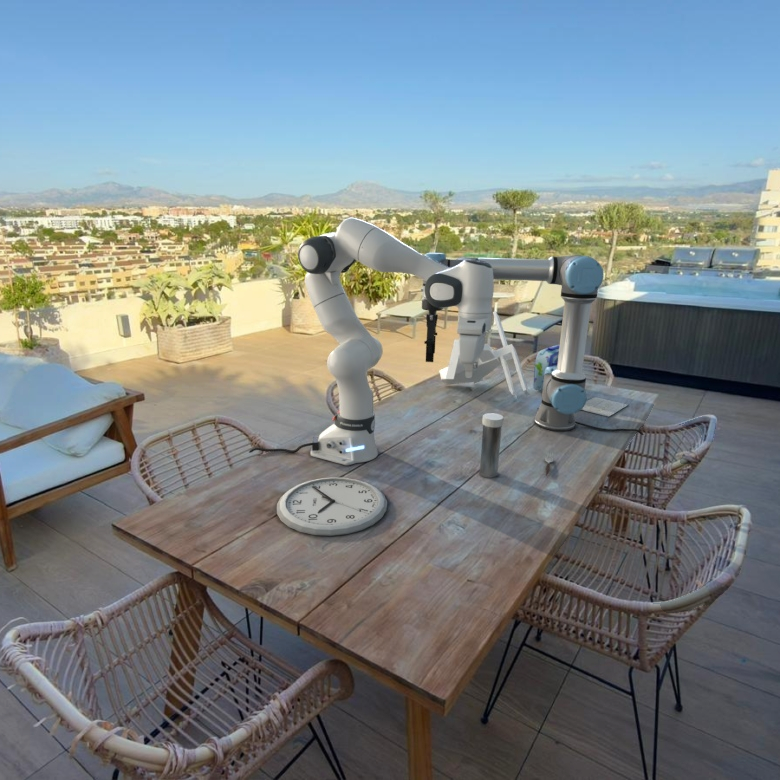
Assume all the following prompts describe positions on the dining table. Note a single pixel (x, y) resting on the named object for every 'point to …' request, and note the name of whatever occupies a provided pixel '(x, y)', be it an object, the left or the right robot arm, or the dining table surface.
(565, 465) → the dining table surface
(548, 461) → the fork
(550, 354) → the lunch box
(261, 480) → the dining table surface
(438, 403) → the dining table surface
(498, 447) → the jar
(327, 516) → the wall clock
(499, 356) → the white plastic object
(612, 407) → the invitation card
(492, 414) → the lid
